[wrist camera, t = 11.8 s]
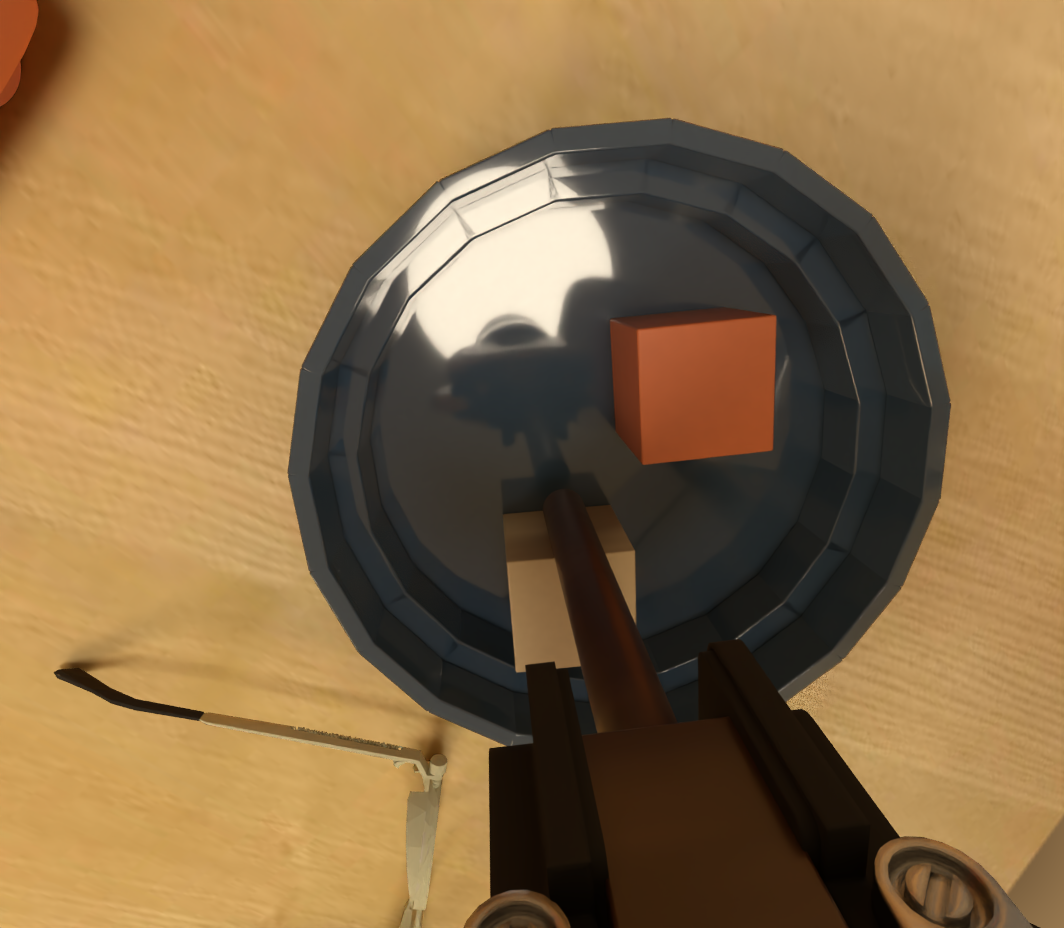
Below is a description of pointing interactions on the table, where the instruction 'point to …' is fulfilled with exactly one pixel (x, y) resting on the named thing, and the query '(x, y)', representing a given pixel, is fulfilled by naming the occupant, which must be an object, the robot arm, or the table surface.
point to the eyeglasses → (419, 803)
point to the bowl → (589, 416)
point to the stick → (672, 776)
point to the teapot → (14, 41)
